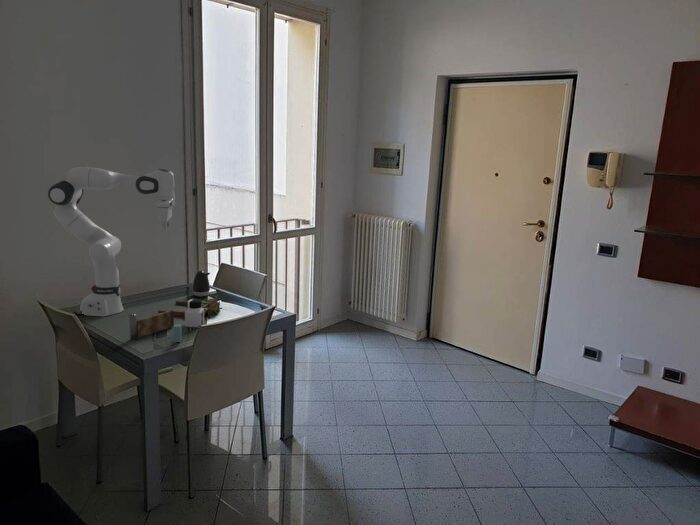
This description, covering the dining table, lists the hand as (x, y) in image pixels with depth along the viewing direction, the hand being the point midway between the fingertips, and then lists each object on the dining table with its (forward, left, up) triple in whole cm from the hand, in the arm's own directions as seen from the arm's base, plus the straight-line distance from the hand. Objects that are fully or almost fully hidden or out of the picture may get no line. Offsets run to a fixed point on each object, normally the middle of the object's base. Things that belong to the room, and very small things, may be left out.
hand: (166, 228), depth 265 cm
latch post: (+12, -40, -45) cm, 62 cm away
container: (+16, -17, -46) cm, 51 cm away
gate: (0, -29, -45) cm, 53 cm away
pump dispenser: (+12, +32, -46) cm, 57 cm away
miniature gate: (+13, +2, -46) cm, 48 cm away
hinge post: (-8, -38, -45) cm, 60 cm away
